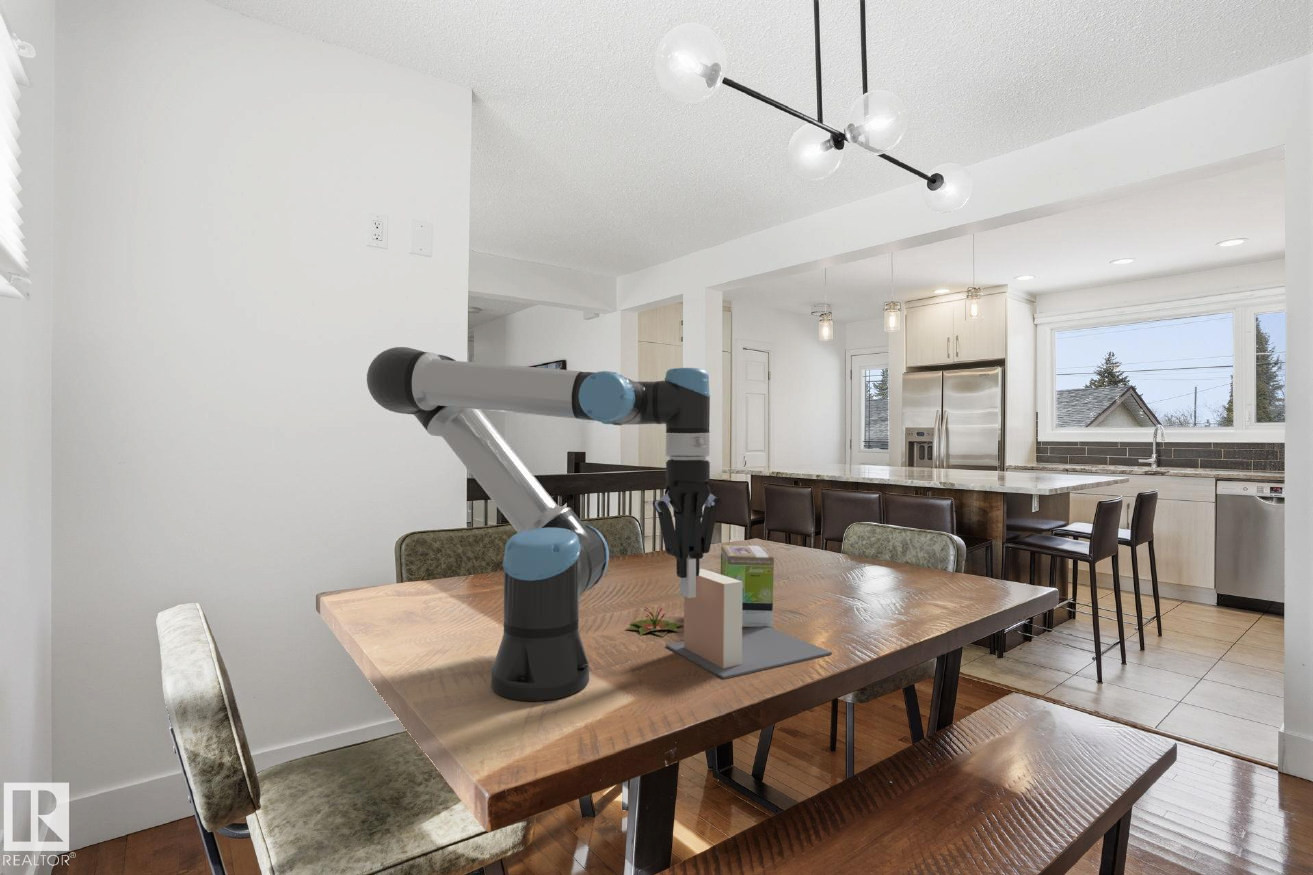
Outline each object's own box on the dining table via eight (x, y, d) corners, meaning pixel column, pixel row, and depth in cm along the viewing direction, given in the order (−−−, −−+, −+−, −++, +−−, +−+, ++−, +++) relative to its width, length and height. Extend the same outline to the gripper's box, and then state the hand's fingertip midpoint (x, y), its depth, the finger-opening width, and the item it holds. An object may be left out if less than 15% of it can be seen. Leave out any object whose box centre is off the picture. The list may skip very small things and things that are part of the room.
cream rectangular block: (722, 668, 103) (723, 584, 103) (683, 647, 114) (684, 570, 114) (741, 664, 105) (742, 581, 105) (701, 643, 116) (702, 568, 116)
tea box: (774, 628, 127) (775, 556, 127) (725, 627, 127) (726, 555, 128) (763, 608, 142) (763, 543, 142) (719, 607, 142) (719, 543, 143)
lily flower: (694, 627, 129) (694, 605, 129) (666, 643, 118) (666, 619, 118) (644, 618, 135) (644, 597, 135) (613, 633, 124) (614, 610, 124)
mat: (723, 678, 100) (723, 676, 100) (665, 646, 115) (665, 644, 115) (831, 654, 112) (831, 651, 112) (766, 627, 127) (766, 625, 127)
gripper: (666, 459, 100) (666, 605, 100) (731, 458, 107) (731, 595, 107) (644, 458, 107) (644, 595, 107) (706, 457, 113) (707, 586, 113)
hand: (688, 595), depth 107 cm, fingers closed
